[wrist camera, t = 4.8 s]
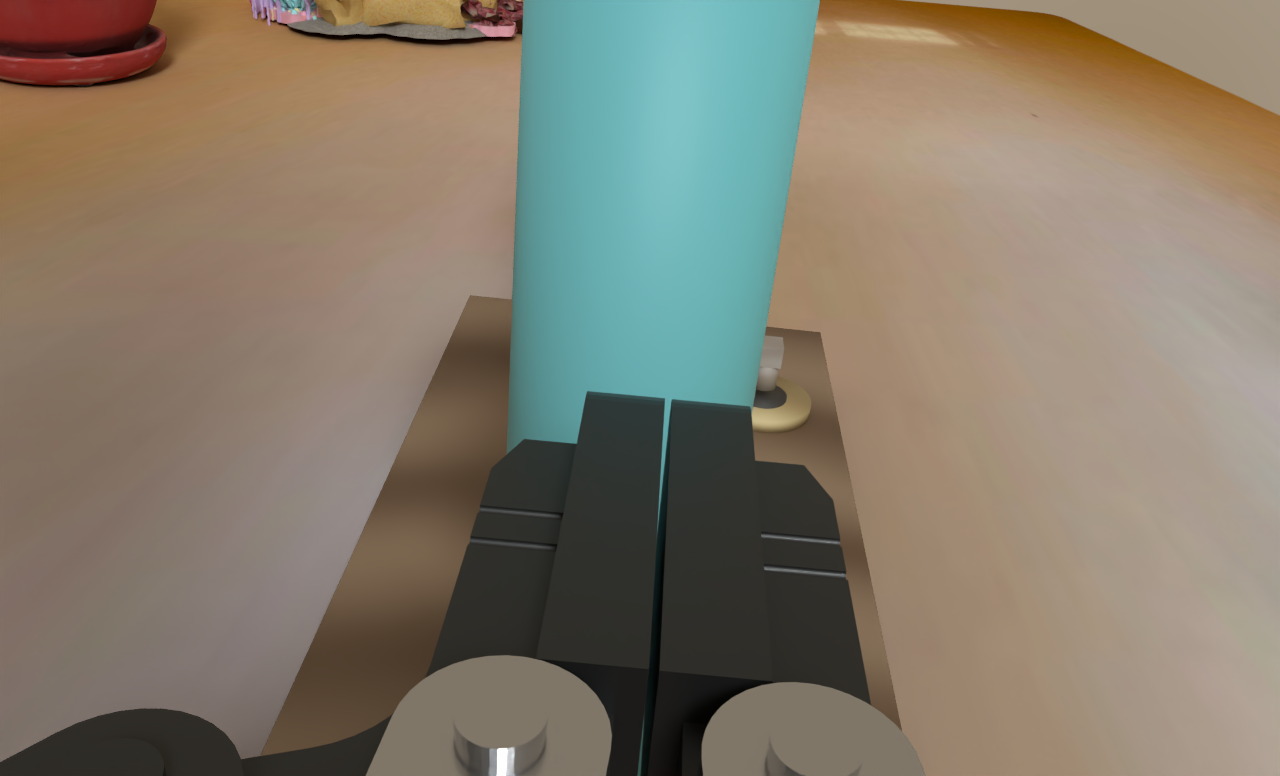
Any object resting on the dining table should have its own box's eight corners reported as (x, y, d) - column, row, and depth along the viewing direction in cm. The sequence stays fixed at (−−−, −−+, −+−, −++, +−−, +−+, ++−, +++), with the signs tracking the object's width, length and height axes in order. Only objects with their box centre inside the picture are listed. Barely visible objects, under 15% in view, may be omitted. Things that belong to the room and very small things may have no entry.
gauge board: (937, 1106, 19) (1427, -93, 10) (183, 1026, 19) (-61, -248, 10) (811, 379, 42) (919, -185, 32) (469, 343, 42) (478, -231, 32)
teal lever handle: (827, 837, 20) (1085, -150, 12) (479, 799, 20) (507, -212, 12) (809, 680, 24) (1000, -167, 16) (512, 648, 24) (552, -215, 16)
